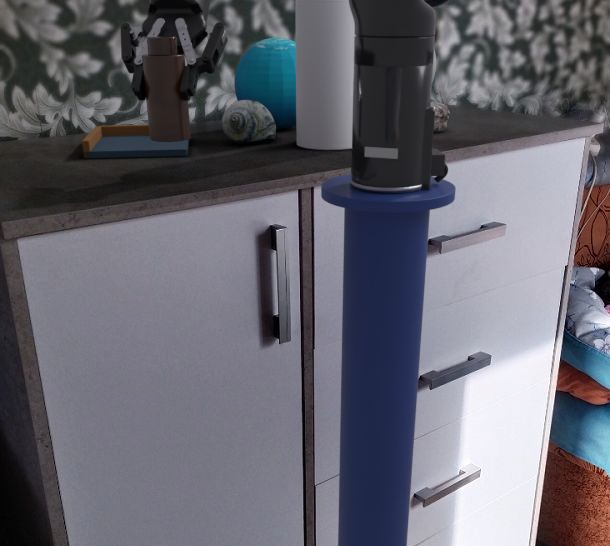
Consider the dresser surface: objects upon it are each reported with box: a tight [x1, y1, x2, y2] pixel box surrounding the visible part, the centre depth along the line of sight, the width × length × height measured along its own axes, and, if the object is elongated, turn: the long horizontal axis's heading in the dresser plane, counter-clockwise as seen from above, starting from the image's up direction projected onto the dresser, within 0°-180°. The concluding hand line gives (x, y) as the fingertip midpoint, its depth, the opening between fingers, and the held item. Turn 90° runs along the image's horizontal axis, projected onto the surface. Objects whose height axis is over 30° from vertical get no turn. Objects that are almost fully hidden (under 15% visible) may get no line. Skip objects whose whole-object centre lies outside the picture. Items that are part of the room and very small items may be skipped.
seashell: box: [221, 100, 277, 145], centre depth 123 cm, size 6×8×12 cm
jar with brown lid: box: [142, 36, 192, 142], centre depth 96 cm, size 5×5×12 cm
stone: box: [431, 101, 451, 133], centre depth 133 cm, size 13×6×10 cm
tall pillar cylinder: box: [294, 0, 356, 151], centre depth 117 cm, size 11×11×25 cm
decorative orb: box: [233, 37, 296, 130], centre depth 134 cm, size 15×15×15 cm
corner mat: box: [81, 124, 190, 159], centre depth 119 cm, size 15×15×2 cm
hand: (162, 95), depth 95 cm, fingers closed on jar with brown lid, 5 cm apart
